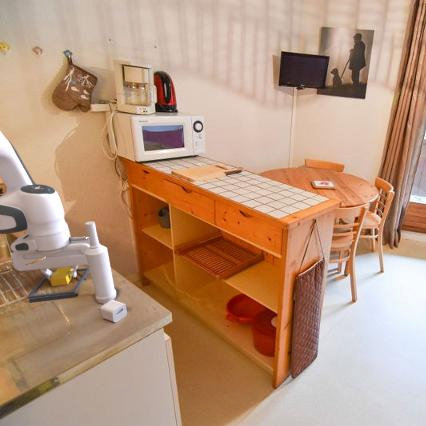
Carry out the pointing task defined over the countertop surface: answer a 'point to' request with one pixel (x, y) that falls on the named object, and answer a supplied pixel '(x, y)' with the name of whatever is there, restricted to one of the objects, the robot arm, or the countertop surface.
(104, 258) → the bottle
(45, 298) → the dark grey flat frame
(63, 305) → the countertop surface
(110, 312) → the usb wall charger
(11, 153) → the robot arm
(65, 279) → the sponge
